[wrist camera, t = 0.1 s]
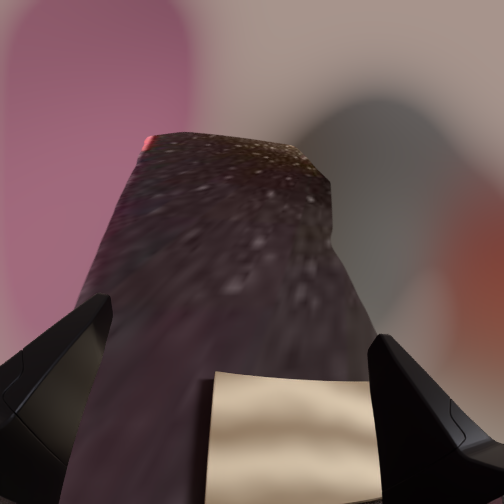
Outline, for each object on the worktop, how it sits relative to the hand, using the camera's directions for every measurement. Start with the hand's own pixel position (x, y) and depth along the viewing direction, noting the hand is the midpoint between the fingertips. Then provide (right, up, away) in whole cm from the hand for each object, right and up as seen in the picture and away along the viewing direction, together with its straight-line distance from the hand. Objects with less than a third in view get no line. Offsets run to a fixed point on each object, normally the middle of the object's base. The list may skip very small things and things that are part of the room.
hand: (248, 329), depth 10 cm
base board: (+6, -13, +12) cm, 19 cm away
